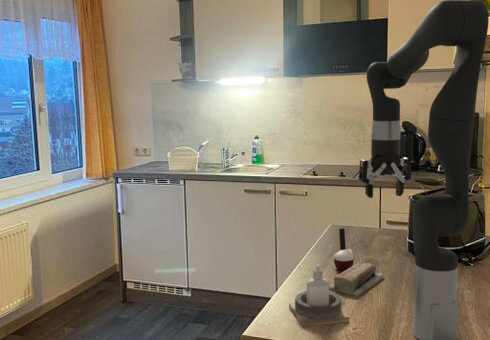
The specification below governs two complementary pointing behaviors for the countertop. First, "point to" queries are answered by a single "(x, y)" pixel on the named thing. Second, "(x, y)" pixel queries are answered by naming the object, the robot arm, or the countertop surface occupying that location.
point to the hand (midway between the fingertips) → (384, 196)
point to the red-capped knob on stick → (343, 254)
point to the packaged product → (356, 279)
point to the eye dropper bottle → (318, 289)
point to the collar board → (318, 322)
